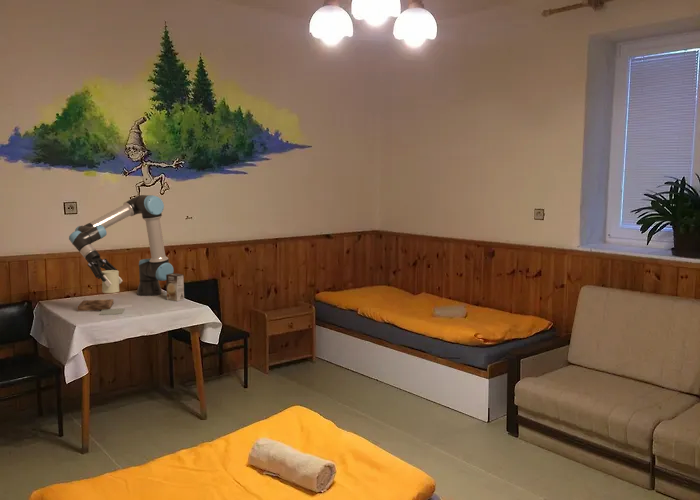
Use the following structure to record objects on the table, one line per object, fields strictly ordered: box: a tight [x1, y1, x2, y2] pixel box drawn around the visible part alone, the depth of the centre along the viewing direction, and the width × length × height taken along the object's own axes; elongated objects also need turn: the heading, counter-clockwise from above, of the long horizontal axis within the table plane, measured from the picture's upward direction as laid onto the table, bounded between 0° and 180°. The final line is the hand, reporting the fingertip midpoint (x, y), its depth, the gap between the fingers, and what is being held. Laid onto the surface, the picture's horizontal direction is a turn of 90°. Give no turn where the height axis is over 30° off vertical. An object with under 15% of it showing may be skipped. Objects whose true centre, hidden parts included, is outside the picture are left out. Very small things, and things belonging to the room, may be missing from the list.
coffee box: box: [165, 272, 185, 302], centre depth 382 cm, size 9×6×16 cm
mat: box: [98, 307, 126, 316], centre depth 348 cm, size 12×12×1 cm
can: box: [101, 269, 120, 294], centre depth 346 cm, size 9×9×12 cm
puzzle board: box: [77, 298, 115, 312], centre depth 361 cm, size 17×17×2 cm
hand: (115, 283), depth 345 cm, fingers closed on can, 9 cm apart
